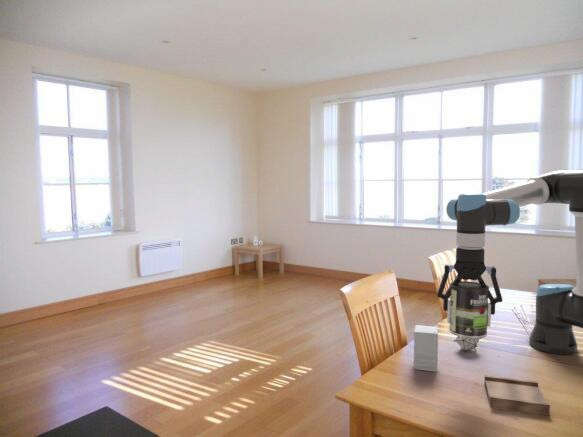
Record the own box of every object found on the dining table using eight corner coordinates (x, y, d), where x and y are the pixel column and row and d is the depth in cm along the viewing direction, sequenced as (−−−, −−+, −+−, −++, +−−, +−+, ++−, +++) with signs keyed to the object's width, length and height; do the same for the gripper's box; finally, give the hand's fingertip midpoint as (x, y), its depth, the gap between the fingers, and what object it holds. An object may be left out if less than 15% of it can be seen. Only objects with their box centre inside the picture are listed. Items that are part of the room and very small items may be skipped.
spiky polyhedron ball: (472, 361, 155) (485, 346, 149) (449, 352, 157) (461, 336, 150) (473, 342, 162) (485, 326, 156) (450, 333, 163) (462, 317, 157)
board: (537, 391, 126) (537, 381, 125) (549, 415, 112) (549, 405, 112) (484, 384, 130) (484, 375, 130) (490, 407, 117) (490, 397, 116)
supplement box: (437, 363, 145) (438, 326, 144) (437, 372, 138) (438, 333, 137) (414, 360, 148) (415, 324, 146) (413, 369, 141) (413, 331, 140)
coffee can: (495, 335, 124) (497, 287, 122) (467, 341, 120) (469, 290, 118) (467, 324, 133) (469, 279, 132) (441, 329, 129) (442, 282, 128)
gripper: (512, 247, 124) (509, 323, 126) (429, 244, 131) (427, 315, 133) (516, 251, 117) (513, 331, 119) (428, 247, 124) (427, 323, 126)
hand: (468, 323), depth 126 cm, fingers closed on coffee can, 10 cm apart
